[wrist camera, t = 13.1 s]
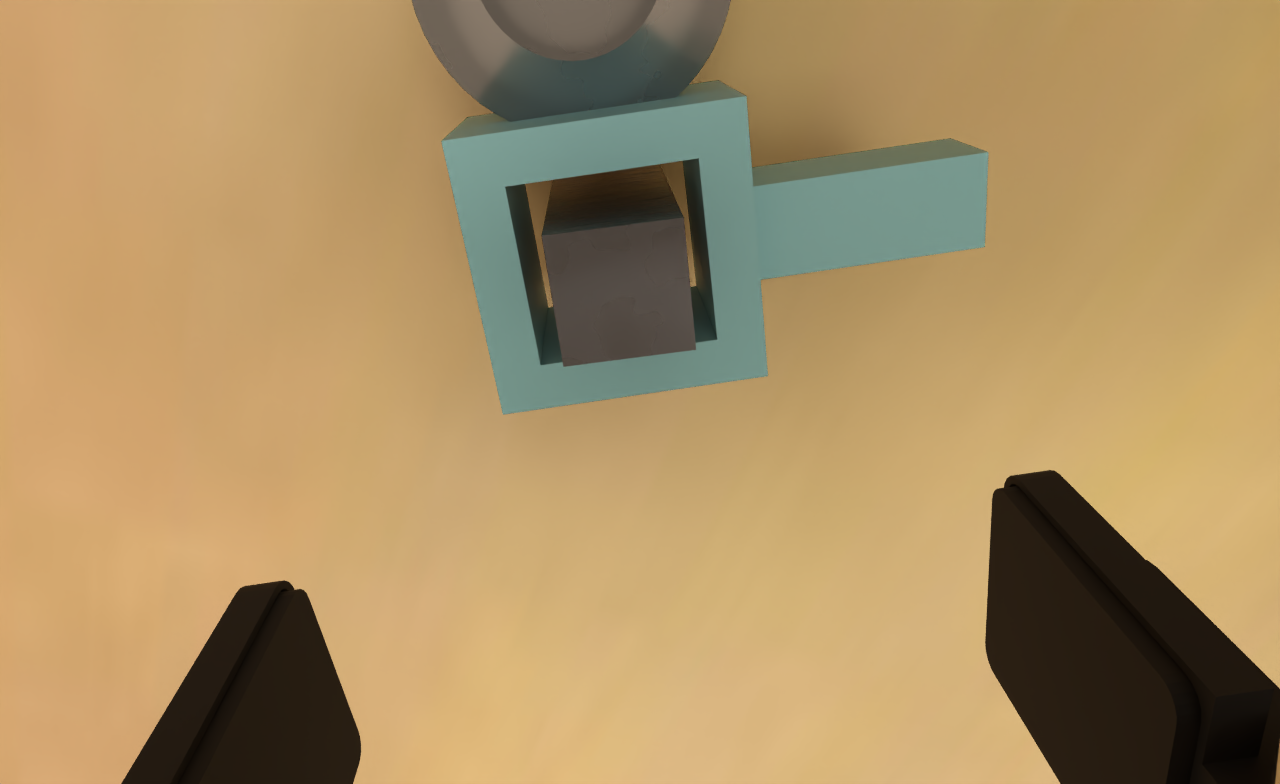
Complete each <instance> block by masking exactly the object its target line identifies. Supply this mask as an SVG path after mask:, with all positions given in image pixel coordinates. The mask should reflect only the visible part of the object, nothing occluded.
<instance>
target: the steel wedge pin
mask: <svg viewBox="0 0 1280 784" xmlns="http://www.w3.org/2000/svg"><path fill="white" fill-rule="evenodd" d="M542 241H543V247H544V253H545V259H546V265H547V271H548V277H549V283H550V289H551V295H552V301H553V307H554V313H555V319H556V325H557V331H558V337H559V343H560V349H561V355H562V361H563V367H567V366H574V365H582V364H590V363H598V362H605V361H613V360H621V359H629V358H637V357H644V356H652V355H660V354H668V353H675V352H683V351H691V350H696V342H695V331H694V321H693V310H692V300H691V289H690V278H689V268H688V257H687V247H686V236H685V225H684V217H683V215H682V213H681V210H680V208H679V206H678V204H677V202H676V200H675V197H674V195H673V193H672V191H671V189H670V186H669V184H668V182H667V180H666V178H665V175H664V173H663V171H662V169H661V167H660V165H659V164H657V165H650V166H643V167H636V168H630V169H623V170H616V171H609V172H602V173H596V174H589V175H582V176H575V177H568V178H561V179H555V180H553V182H552V187H551V192H550V197H549V202H548V207H547V212H546V217H545V221H544V226H543V231H542Z"/></svg>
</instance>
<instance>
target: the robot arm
mask: <svg viewBox="0 0 1280 784" xmlns="http://www.w3.org/2000/svg"><path fill="white" fill-rule="evenodd" d="M985 643H986V653H987V657H988V661H989V664H990V666H991V669H992V671H993V673H994V674H995V676H996V678H997V679H998V681H999V683H1000V684H1001V686H1002V688H1003V689H1004V691H1005V693H1006V694H1007V696H1008V698H1009V699H1010V701H1011V703H1012V704H1013V706H1014V707H1015V709H1016V711H1017V712H1018V714H1019V716H1020V717H1021V719H1022V721H1023V722H1024V724H1025V726H1026V727H1027V729H1028V731H1029V732H1030V734H1031V736H1032V737H1033V739H1034V740H1035V742H1036V744H1037V745H1038V747H1039V749H1040V750H1041V752H1042V754H1043V755H1044V757H1045V759H1046V760H1047V762H1048V764H1049V765H1050V767H1051V769H1052V770H1053V772H1054V773H1055V775H1056V777H1057V778H1058V780H1059V782H1060V783H1061V784H1280V689H1279V688H1278V687H1277V686H1276V685H1275V684H1274V683H1273V682H1272V681H1271V680H1270V679H1269V678H1268V677H1267V676H1266V675H1265V674H1264V673H1263V672H1262V671H1261V670H1260V669H1259V668H1258V667H1257V666H1256V665H1255V664H1254V663H1253V662H1252V661H1251V660H1250V659H1249V658H1248V657H1247V656H1246V655H1245V654H1244V653H1243V652H1242V651H1241V650H1240V649H1239V648H1238V647H1237V646H1236V645H1235V644H1234V643H1233V642H1232V641H1231V640H1230V639H1229V638H1228V637H1227V636H1226V635H1225V634H1224V633H1223V632H1222V631H1221V630H1220V629H1219V628H1218V627H1217V626H1216V625H1215V624H1214V623H1213V622H1212V621H1211V620H1210V619H1209V618H1208V617H1207V616H1206V615H1205V614H1204V613H1203V612H1202V611H1201V610H1200V609H1199V608H1198V607H1197V606H1196V605H1195V604H1194V603H1193V602H1192V601H1191V600H1190V599H1188V598H1187V597H1186V596H1185V595H1184V594H1183V593H1182V592H1181V591H1180V590H1179V589H1178V588H1177V587H1176V586H1175V585H1174V584H1173V583H1172V582H1171V581H1170V580H1169V579H1168V578H1167V577H1166V576H1165V575H1164V574H1163V573H1162V572H1161V571H1160V570H1159V569H1158V568H1157V567H1156V566H1154V565H1153V564H1152V563H1150V562H1149V561H1148V560H1145V559H1144V558H1143V557H1142V556H1141V555H1140V554H1139V553H1138V552H1137V551H1136V550H1135V549H1134V548H1133V547H1132V546H1131V545H1130V544H1129V543H1128V542H1127V541H1126V540H1125V539H1124V538H1123V537H1122V536H1121V535H1120V534H1119V533H1118V532H1117V531H1116V530H1115V529H1114V528H1113V527H1112V526H1111V525H1110V524H1109V523H1108V522H1107V521H1106V520H1105V519H1104V518H1103V517H1102V516H1101V515H1100V514H1099V513H1098V512H1097V511H1096V510H1095V509H1094V508H1093V507H1092V506H1091V505H1090V504H1089V503H1088V502H1087V501H1086V500H1085V499H1084V498H1083V497H1082V496H1081V495H1080V494H1079V493H1078V492H1077V491H1076V490H1075V489H1074V488H1073V487H1072V486H1071V485H1070V484H1069V483H1068V482H1067V481H1066V480H1065V479H1064V478H1063V477H1062V476H1061V475H1060V474H1058V473H1057V472H1056V471H1052V470H1048V471H1041V472H1034V473H1027V474H1020V475H1014V476H1010V477H1008V478H1007V480H1006V482H1005V485H1004V488H999V489H996V490H995V491H994V493H993V498H992V516H991V537H990V558H989V579H988V599H987V620H986V641H985ZM360 755H361V741H360V735H359V732H358V729H357V726H356V724H355V721H354V718H353V715H352V713H351V710H350V707H349V705H348V702H347V699H346V697H345V694H344V691H343V689H342V686H341V683H340V681H339V678H338V675H337V673H336V670H335V667H334V664H333V662H332V659H331V656H330V654H329V651H328V648H327V646H326V643H325V640H324V638H323V635H322V632H321V630H320V627H319V624H318V621H317V619H316V616H315V613H314V611H313V608H312V605H311V603H310V600H309V598H308V596H307V593H306V592H305V591H304V590H302V589H297V590H294V588H293V586H292V585H291V584H290V583H289V582H287V581H277V582H270V583H264V584H257V585H250V586H244V587H242V588H240V589H239V590H238V592H237V593H236V594H235V596H234V598H233V599H232V601H231V603H230V604H229V606H228V608H227V609H226V611H225V613H224V614H223V616H222V618H221V619H220V621H219V623H218V624H217V626H216V628H215V629H214V631H213V632H212V634H211V636H210V637H209V639H208V641H207V642H206V644H205V646H204V647H203V649H202V651H201V652H200V654H199V656H198V657H197V659H196V661H195V662H194V664H193V666H192V667H191V669H190V671H189V672H188V674H187V676H186V677H185V679H184V681H183V682H182V684H181V686H180V687H179V689H178V691H177V692H176V694H175V696H174V697H173V699H172V701H171V702H170V704H169V706H168V707H167V709H166V711H165V712H164V714H163V715H162V717H161V719H160V720H159V722H158V724H157V725H156V727H155V729H154V730H153V732H152V734H151V735H150V737H149V739H148V740H147V742H146V744H145V745H144V747H143V749H142V750H141V752H140V754H139V755H138V757H137V759H136V760H135V762H134V764H133V765H132V767H131V769H130V770H129V772H128V774H127V775H126V777H125V779H124V780H123V782H122V784H353V782H354V778H355V775H356V772H357V768H358V765H359V761H360Z"/></svg>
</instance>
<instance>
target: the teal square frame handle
mask: <svg viewBox="0 0 1280 784" xmlns="http://www.w3.org/2000/svg"><path fill="white" fill-rule="evenodd" d="M441 142H442V146H443V151H444V155H445V160H446V164H447V168H448V173H449V177H450V182H451V186H452V191H453V195H454V199H455V204H456V208H457V213H458V217H459V222H460V226H461V230H462V235H463V239H464V244H465V248H466V253H467V257H468V261H469V266H470V270H471V275H472V279H473V284H474V288H475V292H476V297H477V301H478V306H479V310H480V315H481V319H482V324H483V328H484V332H485V337H486V341H487V346H488V350H489V355H490V359H491V363H492V368H493V372H494V377H495V381H496V386H497V390H498V394H499V399H500V403H501V408H502V412H503V414H510V413H517V412H524V411H531V410H538V409H545V408H552V407H558V406H565V405H572V404H579V403H586V402H593V401H600V400H607V399H613V398H620V397H627V396H634V395H641V394H648V393H655V392H662V391H668V390H675V389H682V388H689V387H696V386H703V385H710V384H717V383H723V382H730V381H737V380H744V379H751V378H758V377H765V376H768V371H767V358H766V345H765V332H764V319H763V306H762V293H761V280H762V279H769V278H776V277H783V276H790V275H797V274H803V273H810V272H817V271H824V270H831V269H838V268H844V267H851V266H858V265H865V264H872V263H879V262H886V261H892V260H899V259H906V258H913V257H920V256H927V255H934V254H940V253H947V252H954V251H961V250H968V249H975V248H981V247H985V228H986V202H987V176H988V152H987V151H984V150H981V149H978V148H976V147H973V146H970V145H967V144H964V143H962V142H959V141H956V140H953V139H951V138H950V139H943V140H936V141H929V142H922V143H916V144H909V145H902V146H895V147H888V148H881V149H875V150H868V151H861V152H854V153H847V154H841V155H834V156H827V157H820V158H813V159H806V160H800V161H793V162H786V163H779V164H772V165H766V166H759V167H752V163H751V150H750V137H749V124H748V111H747V98H746V96H745V95H744V94H742V93H740V92H738V91H736V90H735V89H733V88H731V87H729V86H728V85H726V84H724V83H722V82H720V81H719V80H717V81H710V82H703V83H696V84H690V85H688V86H687V87H686V88H685V89H684V90H683V91H682V92H681V93H680V94H679V95H678V96H677V97H676V98H669V99H663V100H656V101H649V102H642V103H635V104H629V105H622V106H615V107H608V108H601V109H595V110H588V111H581V112H574V113H567V114H561V115H554V116H547V117H540V118H533V119H527V120H520V121H513V122H510V121H508V120H506V119H504V118H502V117H500V116H498V115H497V114H495V113H493V114H486V115H479V116H472V117H467V118H466V119H465V120H464V121H463V122H462V123H461V124H459V125H458V126H457V127H456V128H455V129H454V130H453V131H452V132H451V133H450V134H448V135H447V136H446V137H445V138H444V139H443V140H442V141H441ZM677 161H683V168H684V177H685V186H686V195H687V204H688V213H689V222H690V231H691V240H692V249H693V258H694V267H695V276H696V285H697V286H694V287H690V289H691V300H692V310H693V321H694V331H695V342H696V350H691V351H683V352H675V353H668V354H660V355H652V356H644V357H637V358H629V359H621V360H613V361H605V362H598V363H590V364H582V365H574V366H567V367H563V361H562V355H561V349H560V343H559V337H558V331H557V325H556V319H555V313H554V307H550V308H548V304H547V298H546V293H545V288H544V283H543V277H542V272H541V267H540V261H539V256H538V251H537V246H536V240H535V235H534V230H533V225H532V219H531V214H530V209H529V203H528V198H527V193H526V188H525V184H527V183H534V182H541V181H548V180H555V179H561V178H568V177H575V176H582V175H589V174H596V173H602V172H609V171H616V170H623V169H630V168H636V167H643V166H650V165H657V164H664V163H670V162H677Z"/></svg>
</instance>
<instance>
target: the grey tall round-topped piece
mask: <svg viewBox="0 0 1280 784" xmlns="http://www.w3.org/2000/svg"><path fill="white" fill-rule="evenodd" d="M730 1H731V0H412V3H413V6H414V10H415V13H416V16H417V18H418V20H419V23H420V25H421V28H422V30H423V32H424V35H425V37H426V39H427V40H428V42H429V44H430V46H431V47H432V49H433V51H434V53H435V55H436V56H437V58H438V59H439V60H440V62H441V63H442V64H443V66H444V67H445V69H446V70H447V71H448V73H449V74H450V75H451V76H452V77H453V78H454V79H455V80H456V82H457V83H458V84H459V85H460V86H461V87H462V88H463V89H464V90H465V91H466V92H467V93H468V94H470V95H471V96H472V97H473V98H474V99H476V100H477V101H478V102H479V103H480V104H481V105H483V106H485V107H486V108H488V109H489V110H491V111H492V112H494V113H495V114H497V115H498V116H500V117H502V118H504V119H506V120H508V121H510V122H513V121H520V120H527V119H533V118H540V117H547V116H554V115H561V114H567V113H574V112H581V111H588V110H595V109H601V108H608V107H615V106H622V105H629V104H635V103H642V102H649V101H656V100H663V99H669V98H676V97H677V96H678V95H679V94H680V93H681V92H682V91H683V90H684V89H685V88H686V87H687V86H688V85H689V84H690V82H691V81H692V80H693V79H694V78H695V76H696V75H697V74H698V73H699V72H700V70H701V68H702V67H703V65H704V64H705V62H706V61H707V59H708V58H709V56H710V54H711V53H712V51H713V49H714V46H715V44H716V42H717V40H718V38H719V36H720V34H721V31H722V28H723V25H724V23H725V20H726V17H727V14H728V10H729V6H730Z"/></svg>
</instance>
